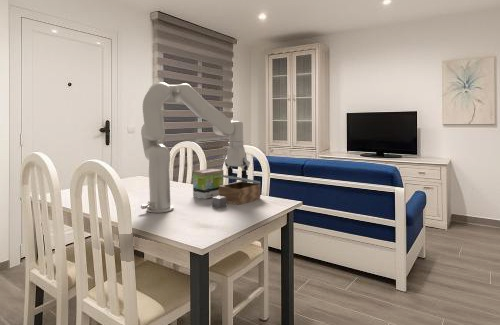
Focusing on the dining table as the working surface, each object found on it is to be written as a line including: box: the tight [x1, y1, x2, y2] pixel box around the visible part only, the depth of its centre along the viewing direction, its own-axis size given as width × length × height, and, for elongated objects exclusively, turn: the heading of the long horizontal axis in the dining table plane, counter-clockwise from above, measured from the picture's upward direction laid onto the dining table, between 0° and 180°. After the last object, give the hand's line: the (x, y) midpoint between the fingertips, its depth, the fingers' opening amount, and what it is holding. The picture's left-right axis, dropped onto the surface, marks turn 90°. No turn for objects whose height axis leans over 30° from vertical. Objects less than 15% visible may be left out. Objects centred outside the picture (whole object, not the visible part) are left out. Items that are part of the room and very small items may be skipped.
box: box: [219, 180, 261, 205], centre depth 188 cm, size 18×14×8 cm
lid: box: [220, 174, 261, 184], centre depth 187 cm, size 18×14×1 cm
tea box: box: [192, 168, 224, 200], centre depth 197 cm, size 15×10×15 cm, turn 143°
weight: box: [211, 196, 227, 209], centre depth 173 cm, size 5×5×5 cm
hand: (237, 176), depth 184 cm, fingers open, 9 cm apart
